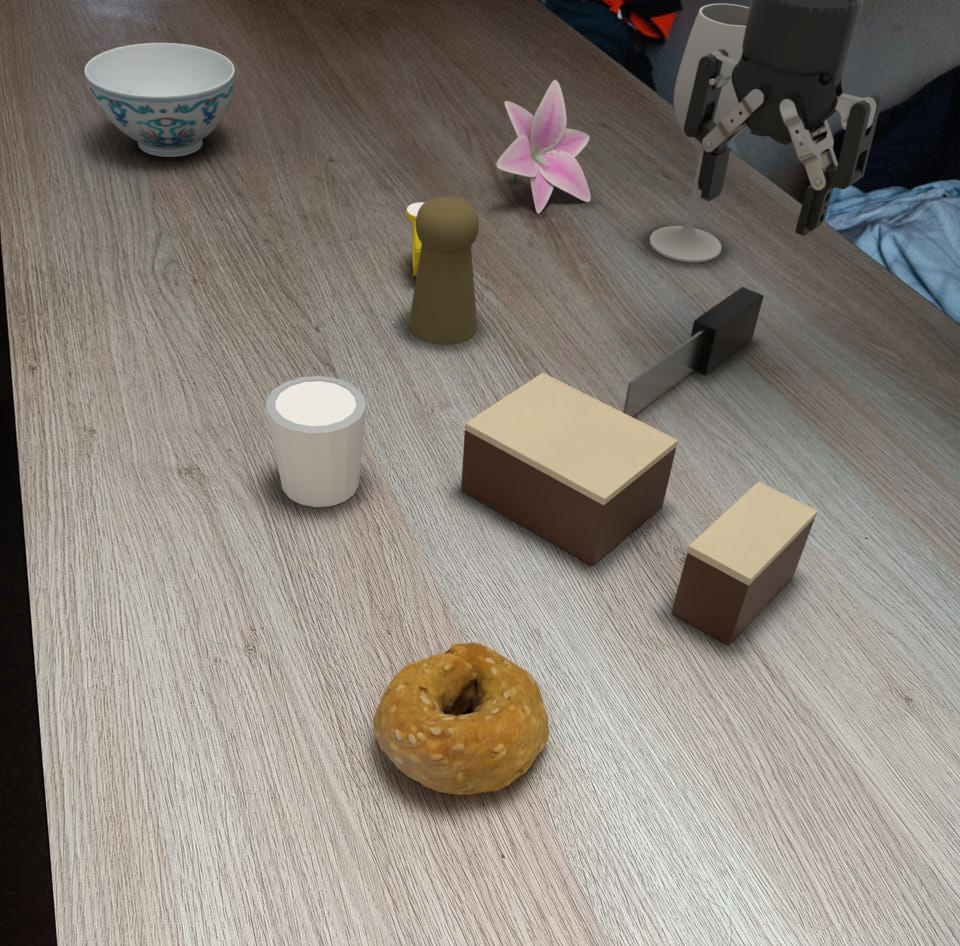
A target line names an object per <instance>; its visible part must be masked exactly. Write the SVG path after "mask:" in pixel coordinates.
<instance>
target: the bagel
mask: <svg viewBox="0 0 960 946" xmlns="http://www.w3.org/2000/svg"><path fill="white" fill-rule="evenodd" d="M544 706H545V705H544V699H543V697H542V694H541V689H540V687H539V685H538V682H537V680H535V679H534V677H533V676H532V674H531V673H530V672H529V671H528V670H526V669H525V668H523V667H522V666H520V665H518V664H516V663H515V662H513V661H512V660H510V659H508V658H506V657H505V656H503V654H500V653H499V652H497V651H495V650H494V649H492V648H491V647H488V646H486V645H484V644H481V643H479V642H467V643H466V642H465V643H462V642H460V643H456V644H454V645H451V646H450V647H449V648H448V649H447V650H446V651H445V652H440V653H437V654H431V655H430V656H428V657H425V658H423V659H420V660H418V661H416V662H415V661H414V662H410V663H409V664H407V665H405V666H404V667H402V669H401V670H399V671H398V672H397V673H396V675H395V676H394V677H393V678H392V679H391V680H390V682H389V684H388V685H387V687H386V688H385V691H384V692H383V693H382V696H381V698H380V702H379V704H377V707H376V712H375V714H374V715H373V718H372V719H373V720H372V721H373V725H374V736H375V738H376V740H377V743H378V746H379V748H380V749H381V750H382V752H383V753H385V754H386V755H387V756H388V758H389V760H390V761H391V762H392V763H393V764H394V766H395V767H396V768H397V769H398V770H400V771H401V772H402V773H403V774H405V776H407V777H408V778H410V779H412V780H413V781H415V782H419V784H421V785H422V786H423V787H426V788H428V789H430V790H433V791H435V792H438V793H443V794H450V795H458V796H461V795H465V796H466V795H467V796H471V795H477V794H483V793H488V792H496V791H500V790H502V789H503V788H505V787H508V786H509V785H511V783H512V782H514V781H515V780H516V779H518V778H520V777H521V776H522V775H524V774H525V773H526V772H527V771H528V770H529V769H530V768H531V767H532V765H533V763H534V762H535V760H536V758H537V757H538V756H539V754H540V753H541V752H542V751H543V750H544V748H545V747H546V745H547V743H548V741H549V738H550V737H549V736H550V727H549V716H548V714H547V711H546V708H545V707H544ZM468 709H470V710H471V711H473V712H470V713H466V712H467V710H468ZM464 713H466V714H464Z"/></svg>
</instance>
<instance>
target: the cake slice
mask: <svg viewBox="0 0 960 946" xmlns="http://www.w3.org/2000/svg"><path fill="white" fill-rule="evenodd" d="M817 515H818V510H817V509H815V508H813V507H811V506H810V505H807V504H806V503H803V502H802V501H799V500H797V499H795V498H793V497H791V496H789V495H787V494H785V493H783V492H781V491H779V490H777V489H775V488H773V487H771V486H769V485H768V484H765V483H763V482H761V481H756V483H755V484H754V485H753V486H751V488H750V489H749V490H747V491H746V492H745V493H744V494H743V495H742V496H741V497H740V498H739V499H737V500H736V501H735V502H734V503H733V504H732V505H731V506H729V508H728V509H727V510H726V511H725V512H724V513H722V514H721V515H720V516H719V517H718V518H717V519H716V520H715V521H713V522H712V524H710V525H709V526H708V527H707V528H706V529H705V530H704V531H703V532H702V533H701V534H700V535H699V536H697V538H696V539H694V540H693V542H691V543H690V544H689V545H688V548H687V552H686V556H685V560H684V563H683V567H682V571H681V574H680V578H679V583H678V586H677V590H676V593H675V597H674V601H673V604H672V608H671V614H673V615H674V616H676V617H678V618H679V619H682V620H684V621H685V622H687V623H689V624H690V625H692V626H694V627H695V628H697V629H699V630H701V631H703V633H706V634H708V635H710V636H711V637H713V638H715V639H717V640H719V641H720V642H722V643H724V644H726V645H727V646H730V645H731V644H732V643H733V642H734V640H736V638H737V637H739V635H740V634H741V633H742V632H743V631H744V630H745V629H746V628H747V627H748V626H749V625H750V624H751V623H752V622H753V620H755V618H756V617H757V616H759V614H760V613H761V612H762V611H763V610H764V609H765V608H766V607H767V606H768V604H769V603H771V601H772V600H773V599H775V597H776V596H777V595H778V594H780V592H781V591H782V589H784V587H786V585H787V584H789V582H790V581H791V580H792V579H793V578H794V576H795V573H796V571H797V569H798V565H799V563H800V560H801V557H802V555H803V552H804V549H805V546H806V544H807V542H808V538H809V536H810V533H811V530H812V527H813V525H814V522H815V520H816V517H817Z"/></svg>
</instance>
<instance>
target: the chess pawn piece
mask: <svg viewBox="0 0 960 946" xmlns="http://www.w3.org/2000/svg"><path fill="white" fill-rule="evenodd" d="M423 203H424V204H422V206H421V207H420V209H419V210H418V214H417V217H416V232H417V236H418V238H419V240H420V241H421V243H422V245H421V252H420V258H419V264H418V270H417V276H416V277H415V282H414V290H413V295H412V302H411V308H410V315H409V319H408V327H409V330H410V332H411V333H412V334H413V335H414V336H415V337H417V338H419V339H420V340H422V341H425V342H428V343H431V344H438V345H454V344H458V343H462V342H466V341H468V340H469V339H471V338H473V337H474V336H475V334H476V333H477V330H478V319H477V307H476V306H477V305H476V293H475V292H476V291H475V280H474V269H473V268H474V267H473V252H472V245H473V244H474V243H475V242H476V240H477V237H478V234H479V229H480V219H479V215H478V213H477V211H476V209H475V208H474V206H473V205H472V204H471V203H470V202H468V201H466V200H465V199H461V198H459V197H454V196H438V197H433V198H430V199H428V200H426V201H424V202H423Z"/></svg>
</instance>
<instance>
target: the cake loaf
mask: <svg viewBox="0 0 960 946" xmlns="http://www.w3.org/2000/svg"><path fill="white" fill-rule="evenodd" d="M678 442H679V440H678V439H677V438H675V437H673V436H671V435H670V434H667V433H665V432H663V431H661V430H659V429H657V428H655V427H653V426H650V425H649V424H647V423H644V422H643V421H640V420H639V419H636V418H635V417H633V416H629V415H627V414H625V413H623V412H622V411H621V410H618V409H617V408H614V406H613V407H612V406H611V405H609V404H606V403H605V402H603V401H601V400H599V399H597V398H594V397H593V396H590V395H589V394H587V393H584V392H582V391H580V390H579V389H577V388H575V387H573V386H571V385H570V384H569V385H568V384H567V383H564V382H562V381H561V380H558V379H557V378H555V377H553V376H550V375H548V374H547V373H545V372H541V373H540V374H538V375H537V376H535V377H534V378H532V379H531V380H529V381H527V382H526V383H524V384H522V386H520V387H519V388H517V389H515V390H513V391H512V392H511V393H509V394H507V395H506V396H504V397H503V398H501V399H499V400H498V401H497V402H496V403H494V404H492V405H491V406H489V407H488V408H486V409H484V410H483V411H481V412H480V413H478V414H476V415H475V416H474V417H473V418H471V419H469V420H468V421H466V422H465V423H464V435H463V453H462V467H461V468H462V470H461V483H460V484H461V485H460V491H462V492H463V493H464V494H467V495H469V496H470V497H472V498H474V500H477V501H479V502H480V503H481V504H484V505H486V506H487V507H489V508H491V509H493V510H494V511H496V512H498V513H499V514H501V515H502V516H505V517H506V518H508V519H510V520H511V521H514V522H515V523H517V524H519V525H520V526H522V527H524V528H526V529H527V530H529V531H531V532H532V533H534V534H536V535H538V536H539V537H541V538H543V539H544V540H546V541H548V542H550V543H552V544H553V545H555V546H556V547H558V548H560V549H562V550H564V551H566V552H567V553H568V554H571V555H572V556H574V557H576V558H578V559H579V560H581V561H583V562H585V563H586V564H588V565H590V566H595V565H596V564H597V563H598V562H599V561H600V560H601V559H602V558H604V557H605V556H606V555H607V554H609V553H610V552H611V551H612V550H613V549H614V548H616V547H617V546H618V545H619V544H621V543H622V542H623V541H624V540H625V539H626V538H628V536H630V535H631V534H632V533H633V532H634V531H636V530H637V529H638V528H639V527H640V526H641V525H642V524H644V523H645V522H646V521H647V520H648V519H650V518H651V517H652V516H653V515H654V514H656V513H657V512H658V511H659V510H660V509H661V508H662V507H663V506H664V503H665V498H666V494H667V490H668V485H669V482H670V477H671V472H672V468H673V464H674V461H675V460H674V459H675V456H676V451H677V446H678Z"/></svg>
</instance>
